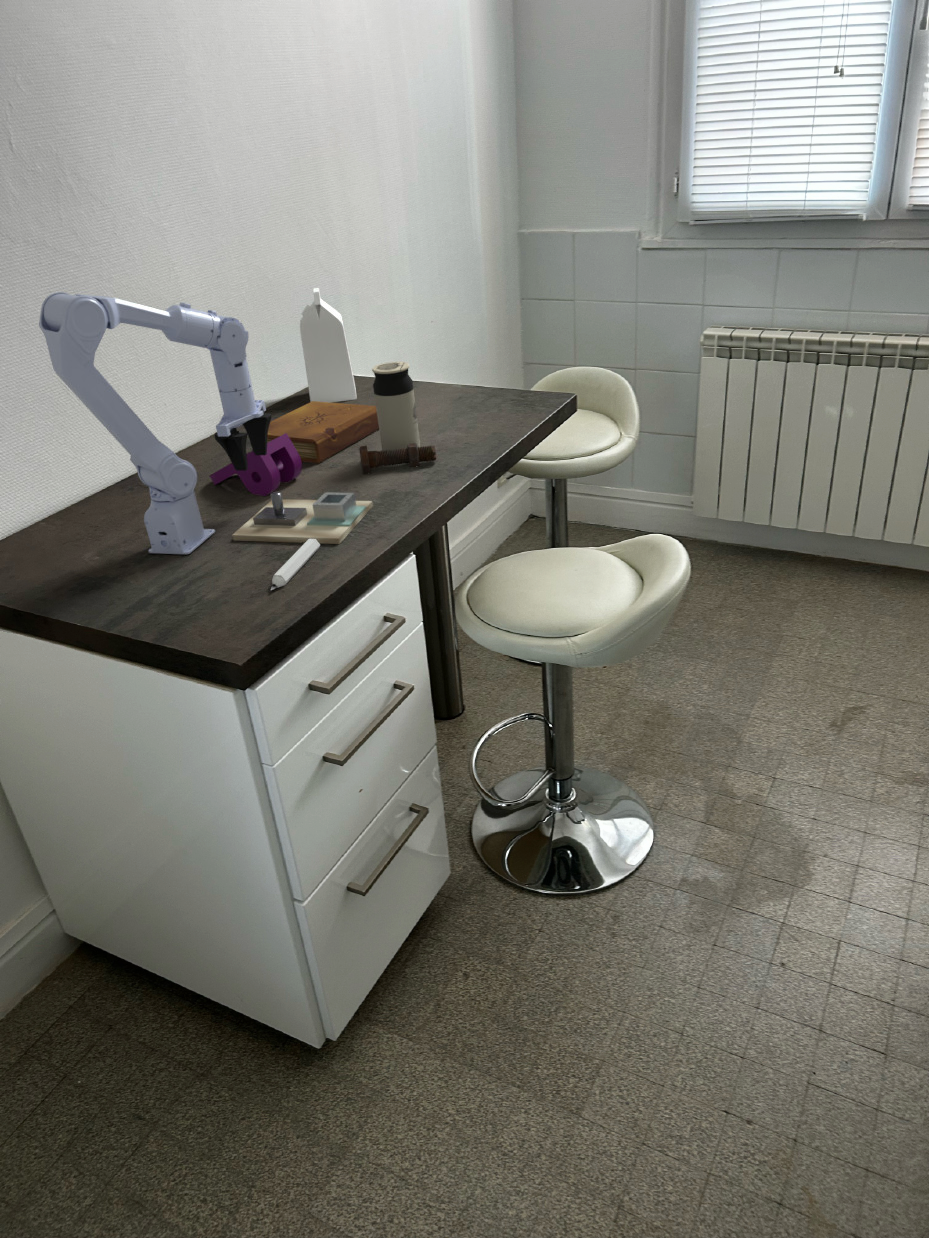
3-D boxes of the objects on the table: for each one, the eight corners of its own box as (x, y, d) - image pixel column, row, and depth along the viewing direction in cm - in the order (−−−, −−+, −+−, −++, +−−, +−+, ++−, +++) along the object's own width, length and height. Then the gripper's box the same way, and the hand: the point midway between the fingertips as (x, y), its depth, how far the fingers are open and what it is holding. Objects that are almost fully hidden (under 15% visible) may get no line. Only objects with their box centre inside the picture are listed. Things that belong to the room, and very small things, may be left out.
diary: (321, 466, 190) (316, 439, 187) (253, 458, 199) (247, 432, 196) (382, 430, 207) (378, 405, 204) (316, 424, 216) (312, 400, 213)
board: (339, 543, 153) (338, 536, 153) (233, 540, 159) (231, 533, 158) (372, 506, 166) (371, 499, 166) (273, 504, 172) (272, 497, 171)
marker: (271, 599, 140) (313, 553, 153) (281, 594, 139) (322, 547, 152) (261, 586, 139) (303, 540, 152) (270, 580, 138) (312, 535, 151)
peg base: (295, 525, 159) (290, 499, 157) (254, 524, 161) (248, 498, 159) (307, 514, 163) (302, 488, 161) (267, 513, 166) (261, 487, 163)
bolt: (437, 472, 184) (363, 480, 183) (434, 453, 187) (360, 461, 186) (437, 452, 179) (360, 460, 178) (433, 433, 182) (358, 441, 181)
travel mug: (377, 459, 188) (365, 372, 180) (389, 446, 195) (377, 361, 186) (414, 459, 186) (403, 371, 178) (425, 446, 193) (415, 360, 184)
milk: (356, 399, 230) (340, 291, 217) (311, 405, 229) (291, 297, 216) (355, 386, 240) (339, 283, 227) (311, 392, 239) (293, 288, 227)
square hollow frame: (344, 521, 158) (342, 505, 157) (315, 520, 160) (312, 504, 158) (356, 508, 163) (354, 492, 161) (327, 508, 164) (325, 492, 163)
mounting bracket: (223, 517, 185) (279, 488, 174) (200, 480, 183) (256, 449, 172) (252, 500, 192) (308, 471, 181) (231, 464, 190) (286, 432, 179)
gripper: (236, 399, 151) (252, 477, 158) (274, 375, 163) (288, 448, 170) (198, 400, 153) (216, 476, 160) (239, 376, 165) (254, 448, 172)
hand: (251, 462), depth 165 cm, fingers open, 7 cm apart
